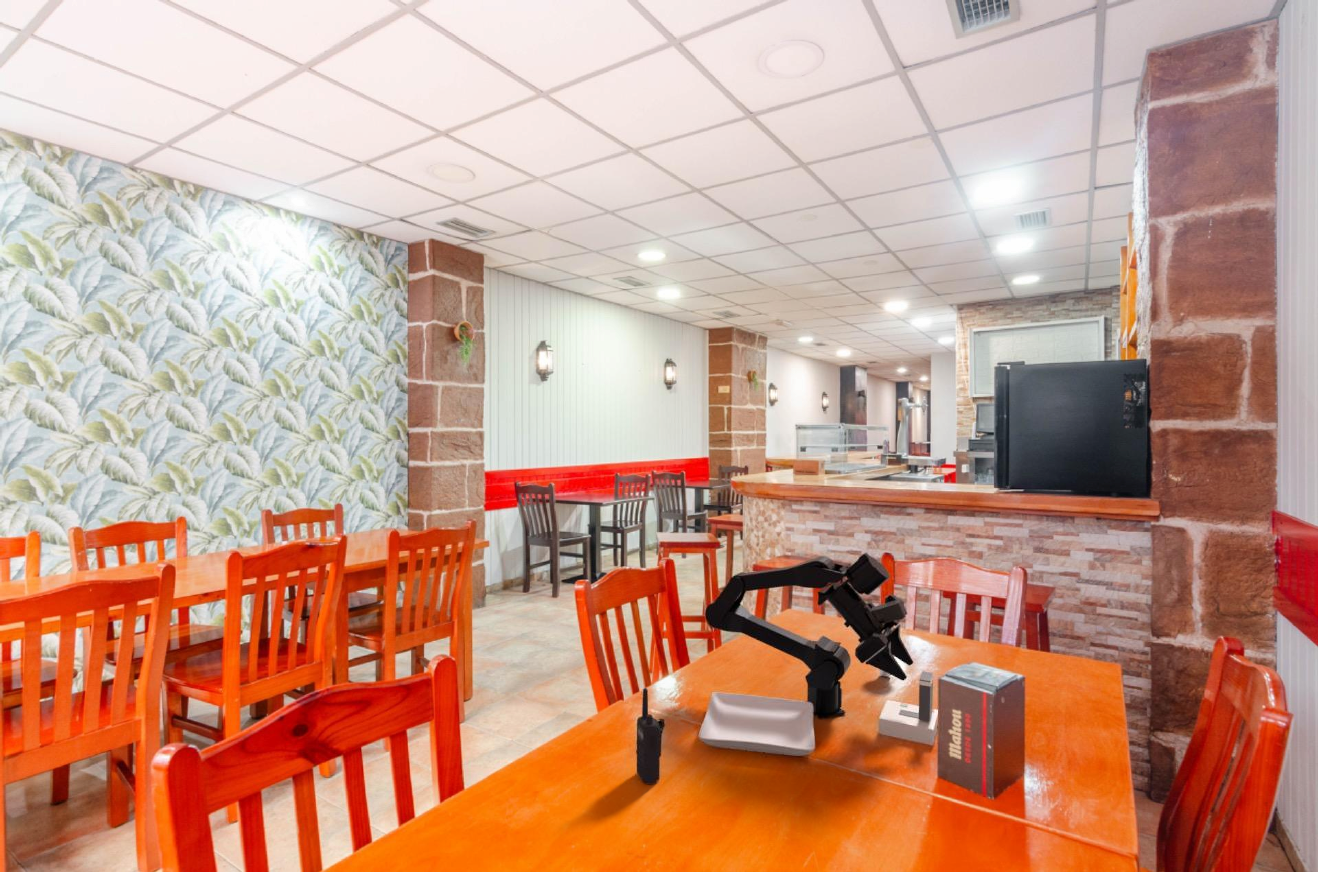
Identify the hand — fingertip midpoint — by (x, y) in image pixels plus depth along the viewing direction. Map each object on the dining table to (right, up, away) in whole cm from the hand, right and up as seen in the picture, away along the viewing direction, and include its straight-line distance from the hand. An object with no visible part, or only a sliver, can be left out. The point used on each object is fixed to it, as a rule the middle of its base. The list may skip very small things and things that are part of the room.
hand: (908, 671), depth 133 cm
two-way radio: (-51, -12, -19) cm, 56 cm away
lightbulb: (+5, -11, +28) cm, 30 cm away
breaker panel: (0, -12, 0) cm, 12 cm away
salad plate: (-30, -12, -2) cm, 32 cm away
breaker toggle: (+3, -8, -1) cm, 9 cm away
